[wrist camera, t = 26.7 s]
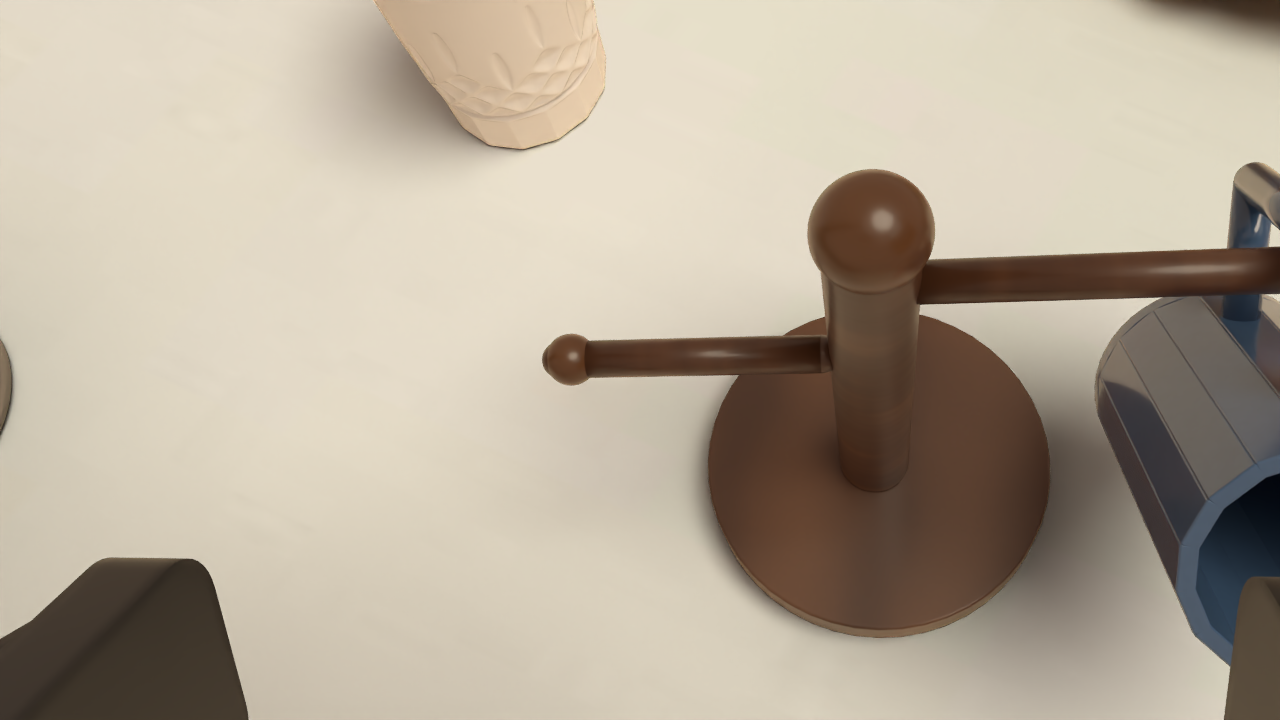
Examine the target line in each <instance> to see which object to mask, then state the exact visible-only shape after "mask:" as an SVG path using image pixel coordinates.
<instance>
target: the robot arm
mask: <svg viewBox="0 0 1280 720" xmlns="http://www.w3.org/2000/svg"><path fill="white" fill-rule="evenodd" d="M10 396H11V368H10V363H9V358H8V355H7V352H6V350H5V348H4V346H3V344H2V342H1V340H0V431H1V428H2V426H3V423H4V421H5V418H6V414H7V411H8V407H9V402H10ZM0 720H248V711H247V706H246V702H245V698H244V695H243V691H242V687H241V684H240V680H239V676H238V672H237V669H236V665H235V661H234V657H233V654H232V650H231V646H230V642H229V639H228V635H227V631H226V627H225V624H224V620H223V616H222V613H221V609H220V605H219V601H218V598H217V594H216V590H215V587H214V584H213V581H212V578H211V576H210V574H209V572H208V571H207V569H206V568H205V567H204V566H203V565H202V564H201V563H200V562H198V561H196V560H194V559H176V558H105V559H102V560H100V561H98V562H96V563H94V564H93V565H92V566H90V567H89V568H88V569H87V570H86V571H85V572H84V573H83V574H82V575H81V576H79V577H78V578H77V579H76V580H75V581H74V582H73V583H72V584H71V585H70V586H69V587H68V588H66V589H65V590H64V591H63V592H62V593H61V594H60V595H59V596H58V597H57V598H56V599H55V600H53V601H52V602H51V603H50V604H49V605H48V606H47V607H46V608H45V609H44V610H43V611H42V612H40V613H39V614H38V615H37V616H36V617H35V618H34V619H33V620H32V621H30V622H29V623H27V624H25V625H24V626H22V627H20V628H18V629H17V630H15V631H13V632H12V633H10V634H8V635H6V636H5V637H3V638H1V639H0ZM1224 720H1280V577H1251V578H1250V579H1248V580H1247V582H1246V583H1245V584H1244V587H1243V589H1242V592H1241V595H1240V599H1239V605H1238V611H1237V619H1236V627H1235V635H1234V643H1233V651H1232V659H1231V667H1230V675H1229V683H1228V691H1227V699H1226V707H1225V715H1224Z"/></svg>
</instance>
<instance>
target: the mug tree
mask: <svg viewBox="0 0 1280 720" xmlns="http://www.w3.org/2000/svg"><path fill="white" fill-rule="evenodd" d="M807 236H808V245H809V249H810V253H811V255H812V258H813V260H814V262H815V264H816V266H817V267H818V269H819V270H820V271H821V279H822V289H823V299H824V309H825V317H823V318H820V319H817V320H814V321H811V322H808V323H806V324H804V325H802V326H800V327H798V328H795V329H793V330H791V331H790V332H788V333H786V334H785V335H783V336H755V337H716V338H677V339H637V340H598V341H589V340H587V339H586V338H585V337H583V336H580V335H577V334H566V335H562V336H560V337H558V338H556V339H555V340H554V341H553V342H552V343H551V344H550V345H549V346H548V347H547V348H546V349H545V351H544V353H543V356H542V363H543V367H544V369H545V370H546V372H547V373H548V374H549V375H551V376H552V377H553V378H554V379H555V380H556V381H558V382H559V383H561V384H564V385H578V384H581V383H583V382H585V381H587V380H588V379H589V378H603V377H656V376H708V375H739V376H738V378H737V379H736V380H735V382H734V383H733V385H732V386H731V388H730V390H729V391H728V393H727V395H726V397H725V399H724V401H723V402H722V405H721V407H720V410H719V412H718V415H717V418H716V420H715V423H714V427H713V431H712V436H711V440H710V447H709V457H708V478H709V487H710V493H711V499H712V504H713V507H714V510H715V513H716V517H717V520H718V523H719V525H720V527H721V529H722V531H723V533H724V536H725V538H726V540H727V542H728V544H729V546H730V548H731V550H732V552H733V554H734V555H735V557H736V558H737V560H738V561H739V563H740V564H741V566H742V568H743V569H744V570H745V572H746V573H747V574H748V575H749V576H750V577H751V579H752V580H753V581H754V582H755V583H756V584H757V586H758V587H760V588H761V589H762V590H763V591H764V592H765V593H766V594H767V595H768V596H770V597H771V598H772V599H773V600H774V601H775V602H777V603H778V604H780V605H781V606H783V607H784V608H786V609H787V610H789V611H790V612H791V613H793V614H795V615H797V616H799V617H801V618H803V619H805V620H807V621H809V622H811V623H813V624H816V625H818V626H821V627H824V628H827V629H830V630H832V631H836V632H841V633H845V634H850V635H854V636H864V637H875V638H884V637H903V636H909V635H914V634H920V633H925V632H928V631H931V630H934V629H938V628H941V627H944V626H947V625H949V624H951V623H953V622H955V621H957V620H959V619H961V618H964V617H966V616H967V615H969V614H970V613H972V612H973V611H975V610H976V609H978V608H980V607H981V606H983V605H984V604H985V603H987V602H988V601H989V600H990V599H991V598H992V597H993V596H995V595H996V594H997V593H998V592H999V591H1000V590H1001V589H1002V588H1003V587H1004V586H1005V585H1006V584H1007V582H1008V581H1009V580H1010V579H1011V578H1012V577H1013V575H1014V574H1015V573H1016V572H1017V570H1018V569H1019V567H1020V565H1021V564H1022V562H1023V561H1024V559H1025V558H1026V556H1027V554H1028V552H1029V550H1030V548H1031V546H1032V544H1033V542H1034V540H1035V538H1036V535H1037V533H1038V531H1039V529H1040V526H1041V524H1042V521H1043V517H1044V514H1045V510H1046V507H1047V503H1048V495H1049V488H1050V457H1049V450H1048V444H1047V438H1046V435H1045V432H1044V428H1043V425H1042V422H1041V418H1040V416H1039V414H1038V412H1037V410H1036V408H1035V405H1034V403H1033V401H1032V399H1031V397H1030V396H1029V394H1028V393H1027V391H1026V389H1025V388H1024V386H1023V385H1022V383H1021V382H1020V380H1019V379H1018V378H1017V376H1016V375H1015V374H1014V373H1013V372H1012V371H1011V369H1010V368H1009V367H1008V366H1007V365H1006V364H1005V363H1004V362H1003V361H1002V360H1001V359H1000V358H999V357H998V356H997V355H996V354H995V353H994V352H993V351H991V350H990V349H989V348H988V347H986V346H985V345H983V344H982V343H981V342H979V341H978V340H976V339H975V338H974V337H972V336H970V335H968V334H967V333H965V332H963V331H961V330H959V329H957V328H956V327H954V326H951V325H949V324H946V323H944V322H941V321H939V320H936V319H934V318H930V317H927V316H923V315H919V311H920V305H922V304H956V303H989V302H1023V301H1056V300H1090V299H1123V298H1156V297H1190V296H1223V295H1257V294H1280V247H1255V248H1229V249H1202V250H1175V251H1148V252H1121V253H1094V254H1067V255H1040V256H1013V257H987V258H960V259H933V260H928V259H929V257H930V255H931V252H932V249H933V245H934V239H935V223H934V217H933V213H932V210H931V207H930V205H929V203H928V201H927V200H926V198H925V196H924V195H923V194H922V192H921V191H920V190H919V189H918V188H917V187H916V186H915V185H914V184H913V183H912V182H910V181H909V180H907V179H906V178H904V177H902V176H900V175H898V174H896V173H893V172H890V171H885V170H878V169H867V170H860V171H855V172H852V173H849V174H847V175H845V176H843V177H841V178H839V179H838V180H836V181H835V182H833V183H832V184H831V185H830V186H828V187H827V188H826V189H825V190H824V191H823V193H822V194H821V195H820V197H819V198H818V199H817V201H816V203H815V205H814V206H813V209H812V212H811V214H810V218H809V222H808V232H807Z"/></svg>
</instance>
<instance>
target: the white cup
mask: <svg viewBox="0 0 1280 720" xmlns="http://www.w3.org/2000/svg"><path fill="white" fill-rule="evenodd" d="M373 1H374V2H375V4H376V5H377V7H378V9H379V10H380V12H381V13H382V15H383V16H384V18H385V19H386V21H387V22H388V24H389V25H390V27H391V28H392V30H393V31H394V33H395V34H396V36H397V37H398V39H399V40H400V42H401V43H402V45H403V46H404V47H405V49H406V50H407V52H408V53H409V54H410V56H411V57H412V58H413V60H414V61H415V62H416V63H417V65H418V66H419V68H420V69H421V71H422V72H423V74H424V75H425V77H426V78H427V79H428V81H429V82H430V83H431V85H432V86H433V87H434V88H435V89H436V90H437V91H438V92H439V93H440V95H441V96H442V97H443V98H444V100H445V101H446V103H447V104H448V106H449V107H450V109H451V111H452V112H453V114H454V115H455V117H456V118H457V120H458V121H459V123H460V124H461V126H462V127H463V128H464V129H465V130H467V131H468V132H470V133H471V134H473V135H474V136H476V137H477V138H479V139H480V140H482V141H484V142H485V143H487V144H488V145H492V146H500V147H508V148H517V149H526V148H529V147H533V146H536V145H540V144H544V143H547V142H551V141H554V140H558V139H559V138H561V137H562V136H563V135H565V134H566V133H567V132H569V131H570V130H571V129H573V128H574V127H575V126H577V125H578V124H579V123H581V122H582V121H583V120H585V119H586V118H587V117H588V116H589V114H590V112H591V111H592V109H593V107H594V105H595V104H596V102H597V100H598V99H599V97H600V95H601V93H602V92H603V90H604V88H605V69H606V55H605V51H604V48H603V44H602V41H601V37H600V33H599V30H598V27H597V18H596V12H595V6H594V1H593V0H373Z"/></svg>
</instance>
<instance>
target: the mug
mask: <svg viewBox="0 0 1280 720" xmlns="http://www.w3.org/2000/svg"><path fill="white" fill-rule="evenodd" d="M1271 223H1272V224H1273V225H1275V226H1276V227H1277V228H1278V229H1279V230H1280V174H1279V173H1278V172H1276V171H1275V170H1274V169H1272V168H1271V167H1269V166H1268V165H1266V164H1264V163H1260V162H1253V163H1249V164H1246V165H1244V166H1243V167H1241V168H1240V169H1239V170H1238V171H1237V173H1236V174H1235V177H1234V181H1233V191H1232V201H1231V211H1230V222H1229V232H1228V242H1227V249H1229V248H1255V247H1269V240H1270V231H1271ZM1094 388H1095V403H1096V409H1097V413H1098V417H1099V419H1100V422H1101V424H1102V426H1103V429H1104V431H1105V433H1106V436H1107V438H1108V440H1109V443H1110V445H1111V447H1112V450H1113V452H1114V454H1115V456H1116V459H1117V461H1118V463H1119V466H1120V468H1121V470H1122V472H1123V475H1124V477H1125V479H1126V482H1127V484H1128V486H1129V488H1130V491H1131V493H1132V495H1133V498H1134V500H1135V502H1136V505H1137V507H1138V509H1139V511H1140V514H1141V516H1142V518H1143V521H1144V523H1145V525H1146V527H1147V530H1148V532H1149V534H1150V537H1151V539H1152V541H1153V543H1154V546H1155V548H1156V550H1157V553H1158V555H1159V557H1160V559H1161V562H1162V564H1163V566H1164V569H1165V571H1166V573H1167V575H1168V578H1169V580H1170V582H1171V585H1172V587H1173V589H1174V592H1175V594H1176V596H1177V598H1178V601H1179V603H1180V605H1181V608H1182V610H1183V612H1184V614H1185V617H1186V619H1187V621H1188V624H1189V626H1190V628H1191V630H1192V633H1193V634H1194V635H1195V637H1197V638H1198V639H1199V640H1200V641H1201V642H1202V643H1203V644H1205V645H1206V646H1207V647H1208V648H1209V649H1210V650H1212V651H1213V652H1214V653H1215V654H1216V655H1217V656H1218V657H1220V658H1221V659H1222V660H1223V661H1224V662H1225V663H1226V664H1228V665H1229V666H1230V667H1231V659H1232V651H1233V643H1234V635H1235V627H1236V619H1237V611H1238V605H1239V599H1240V595H1241V592H1242V589H1243V587H1244V584H1245V583H1246V582H1247V580H1248V579H1250V578H1251V577H1280V302H1279V301H1277V300H1276V299H1274V298H1272V297H1270V296H1268V295H1265V294H1257V295H1223V296H1190V297H1163V298H1161V299H1159V300H1156V301H1155V302H1153V303H1151V304H1149V305H1148V306H1146V307H1144V308H1143V309H1141V310H1140V311H1139V312H1138V313H1136V314H1135V315H1134V316H1132V317H1131V318H1130V319H1129V320H1128V321H1127V322H1126V323H1125V324H1124V325H1123V326H1122V327H1121V328H1120V329H1119V330H1118V331H1117V333H1116V334H1115V335H1114V336H1113V338H1112V339H1111V341H1110V342H1109V344H1108V346H1107V347H1106V349H1105V351H1104V353H1103V355H1102V358H1101V360H1100V362H1099V366H1098V369H1097V373H1096V379H1095V386H1094Z"/></svg>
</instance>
